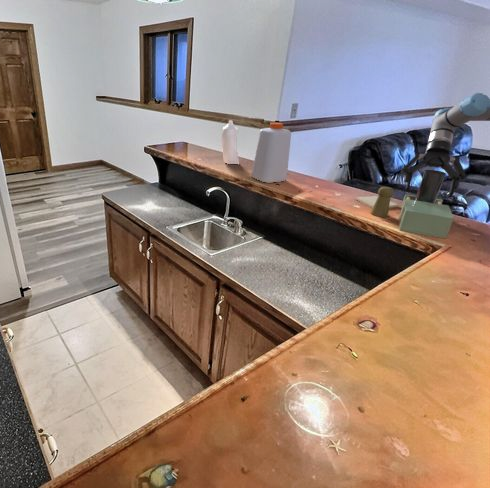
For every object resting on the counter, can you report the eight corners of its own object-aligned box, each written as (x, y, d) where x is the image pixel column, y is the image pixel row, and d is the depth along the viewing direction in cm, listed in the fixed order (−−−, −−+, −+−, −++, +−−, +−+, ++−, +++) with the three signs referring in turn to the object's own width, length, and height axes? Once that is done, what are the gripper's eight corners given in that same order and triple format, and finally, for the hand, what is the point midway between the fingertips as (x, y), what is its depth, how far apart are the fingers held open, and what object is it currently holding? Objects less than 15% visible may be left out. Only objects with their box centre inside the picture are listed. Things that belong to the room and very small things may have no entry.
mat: (398, 207, 147) (399, 205, 146) (373, 208, 145) (373, 206, 144) (378, 198, 157) (379, 195, 157) (354, 199, 155) (355, 197, 155)
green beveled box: (398, 217, 137) (405, 198, 133) (441, 224, 130) (448, 205, 127) (399, 230, 125) (406, 210, 122) (445, 238, 119) (454, 218, 116)
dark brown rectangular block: (434, 215, 134) (450, 173, 126) (420, 215, 133) (435, 174, 126) (421, 209, 139) (435, 169, 132) (407, 209, 138) (420, 170, 131)
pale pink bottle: (231, 166, 206) (235, 122, 195) (216, 163, 212) (220, 120, 201) (242, 163, 213) (246, 120, 202) (227, 160, 220) (231, 118, 209)
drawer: (400, 204, 147) (405, 191, 144) (436, 210, 142) (441, 196, 139) (401, 218, 133) (406, 203, 131) (440, 225, 128) (446, 210, 125)
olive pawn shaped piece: (371, 210, 143) (378, 184, 138) (387, 213, 140) (396, 186, 135) (370, 215, 138) (377, 188, 133) (387, 218, 136) (396, 190, 131)
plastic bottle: (289, 181, 179) (299, 124, 166) (265, 184, 174) (273, 126, 161) (271, 174, 191) (279, 120, 179) (248, 176, 186) (254, 121, 174)
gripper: (475, 154, 133) (466, 203, 129) (399, 147, 145) (388, 191, 140) (484, 142, 127) (474, 193, 122) (404, 136, 138) (392, 182, 133)
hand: (428, 192), depth 131 cm, fingers open, 13 cm apart
